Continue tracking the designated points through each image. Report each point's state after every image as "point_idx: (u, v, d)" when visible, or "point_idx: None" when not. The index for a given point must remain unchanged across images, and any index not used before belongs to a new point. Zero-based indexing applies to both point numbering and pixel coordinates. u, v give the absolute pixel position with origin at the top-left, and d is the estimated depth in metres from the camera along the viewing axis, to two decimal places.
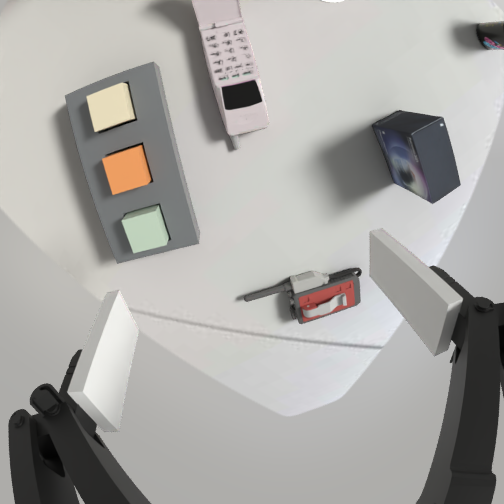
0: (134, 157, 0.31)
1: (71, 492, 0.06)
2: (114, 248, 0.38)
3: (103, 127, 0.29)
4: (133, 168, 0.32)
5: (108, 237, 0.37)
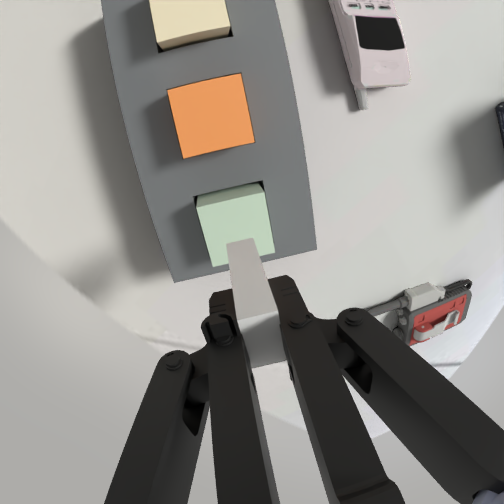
0: (233, 91, 0.17)
1: (195, 453, 0.08)
2: (171, 257, 0.23)
3: (175, 35, 0.14)
4: (229, 110, 0.17)
5: (161, 238, 0.22)
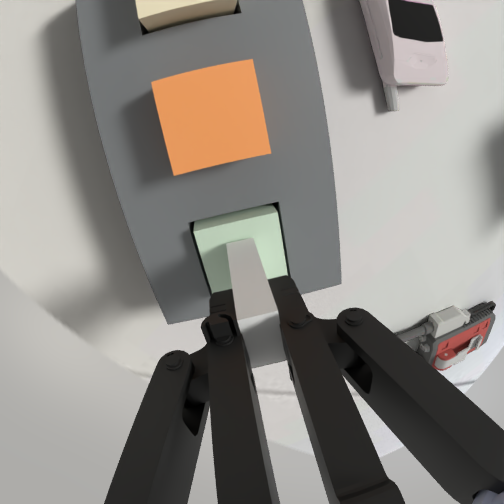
0: (242, 82, 0.12)
1: (195, 453, 0.08)
2: (163, 296, 0.18)
3: (163, 8, 0.10)
4: (237, 110, 0.12)
5: (150, 274, 0.18)
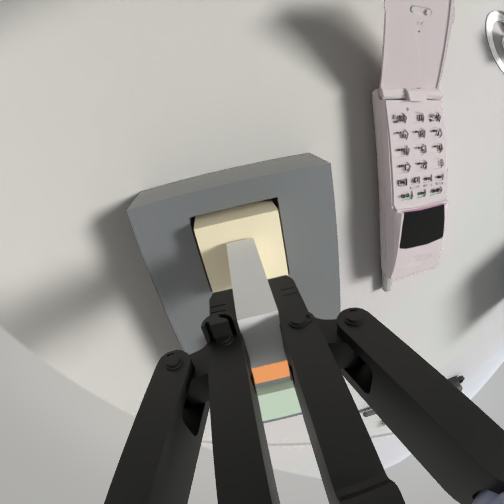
0: None
1: (194, 453, 0.08)
2: None
3: None
4: None
5: None
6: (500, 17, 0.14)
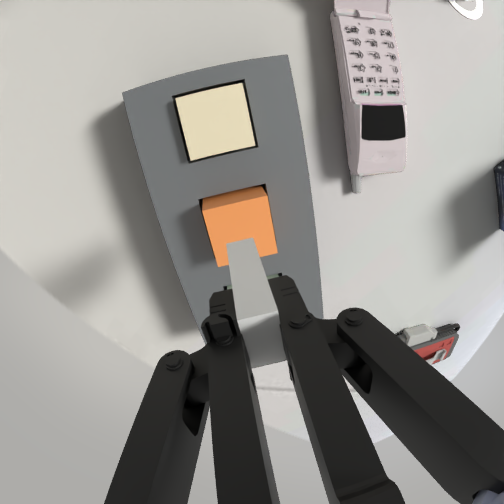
0: (260, 211, 0.21)
1: (194, 453, 0.08)
2: None
3: (207, 154, 0.20)
4: (257, 228, 0.22)
5: (196, 316, 0.27)
6: None
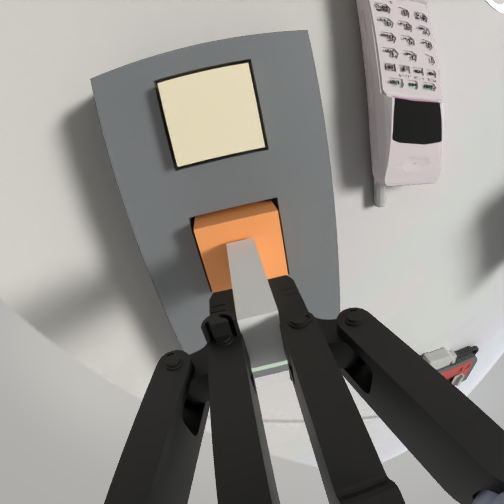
0: (269, 231, 0.17)
1: (195, 453, 0.08)
2: None
3: (199, 158, 0.15)
4: (264, 252, 0.17)
5: None
6: None
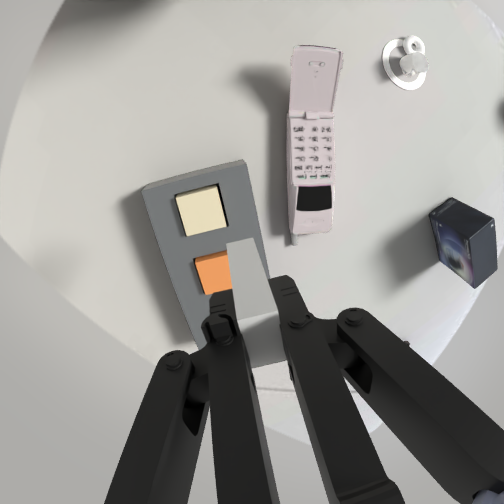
0: None
1: (195, 453, 0.08)
2: (198, 340, 0.41)
3: (196, 232, 0.34)
4: (228, 272, 0.36)
5: (193, 331, 0.40)
6: (399, 43, 0.31)
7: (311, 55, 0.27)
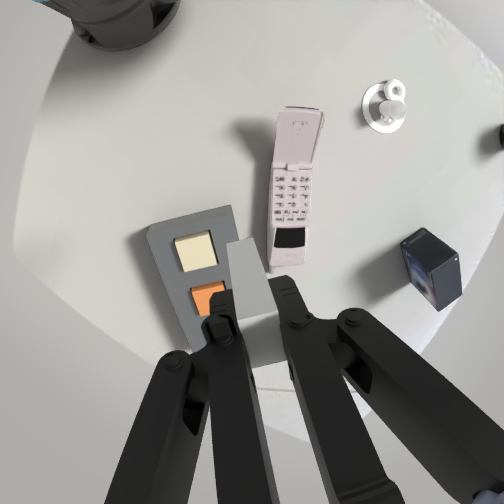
0: None
1: (195, 453, 0.08)
2: (195, 350, 0.49)
3: (192, 269, 0.41)
4: None
5: (190, 343, 0.48)
6: (380, 87, 0.37)
7: (296, 115, 0.34)
